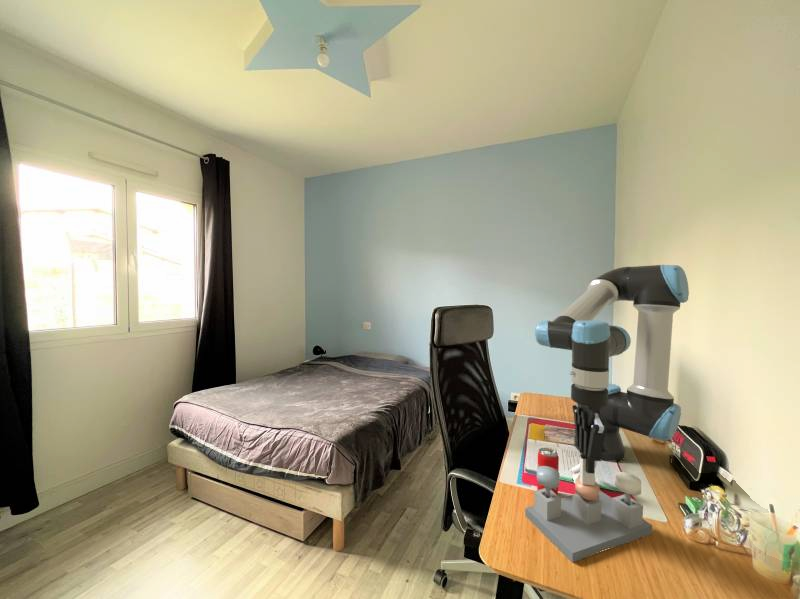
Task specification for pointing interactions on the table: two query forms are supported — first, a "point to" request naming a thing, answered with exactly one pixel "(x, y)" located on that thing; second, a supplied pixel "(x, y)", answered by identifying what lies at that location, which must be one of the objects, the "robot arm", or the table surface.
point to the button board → (587, 522)
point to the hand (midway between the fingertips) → (587, 482)
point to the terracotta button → (587, 490)
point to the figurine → (577, 470)
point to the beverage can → (548, 463)
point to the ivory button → (628, 485)
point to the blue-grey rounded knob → (548, 478)
